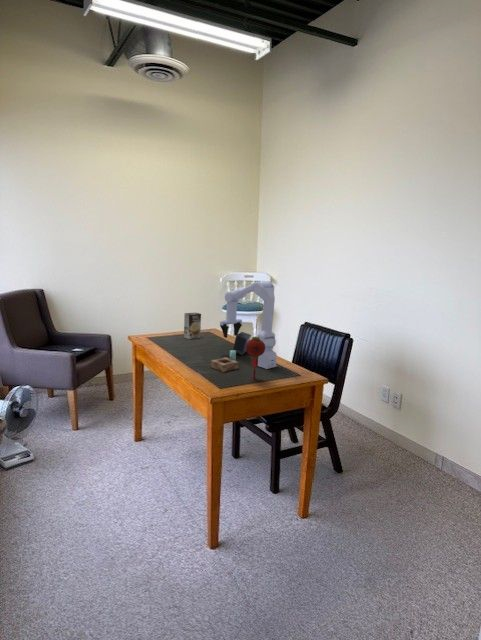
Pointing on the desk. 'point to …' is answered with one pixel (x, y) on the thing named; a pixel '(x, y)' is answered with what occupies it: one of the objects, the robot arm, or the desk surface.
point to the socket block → (224, 364)
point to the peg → (233, 355)
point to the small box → (241, 343)
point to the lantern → (255, 350)
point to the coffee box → (192, 325)
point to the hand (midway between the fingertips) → (230, 336)
